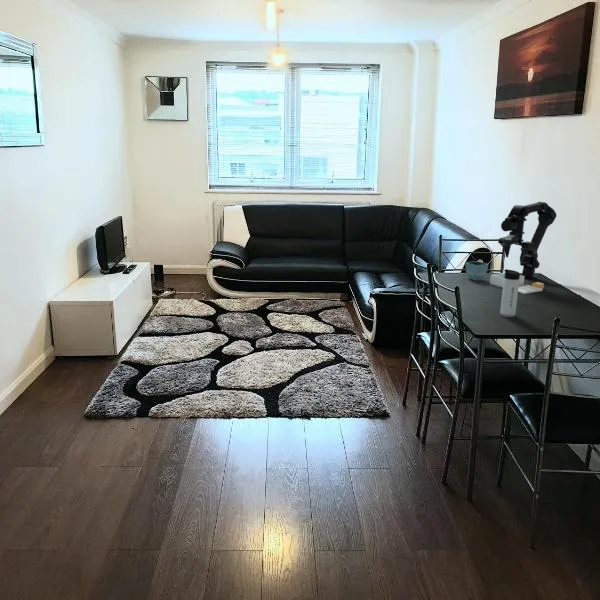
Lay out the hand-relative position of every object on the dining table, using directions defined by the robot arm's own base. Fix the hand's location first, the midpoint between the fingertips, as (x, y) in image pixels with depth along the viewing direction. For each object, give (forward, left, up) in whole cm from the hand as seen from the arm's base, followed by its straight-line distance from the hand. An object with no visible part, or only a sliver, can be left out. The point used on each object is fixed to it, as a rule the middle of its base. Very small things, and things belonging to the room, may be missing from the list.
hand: (514, 258), depth 326 cm
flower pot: (+16, -11, -12) cm, 23 cm away
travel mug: (+53, +43, -12) cm, 69 cm away
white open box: (+10, +5, -12) cm, 16 cm away
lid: (+7, +17, -12) cm, 22 cm away
